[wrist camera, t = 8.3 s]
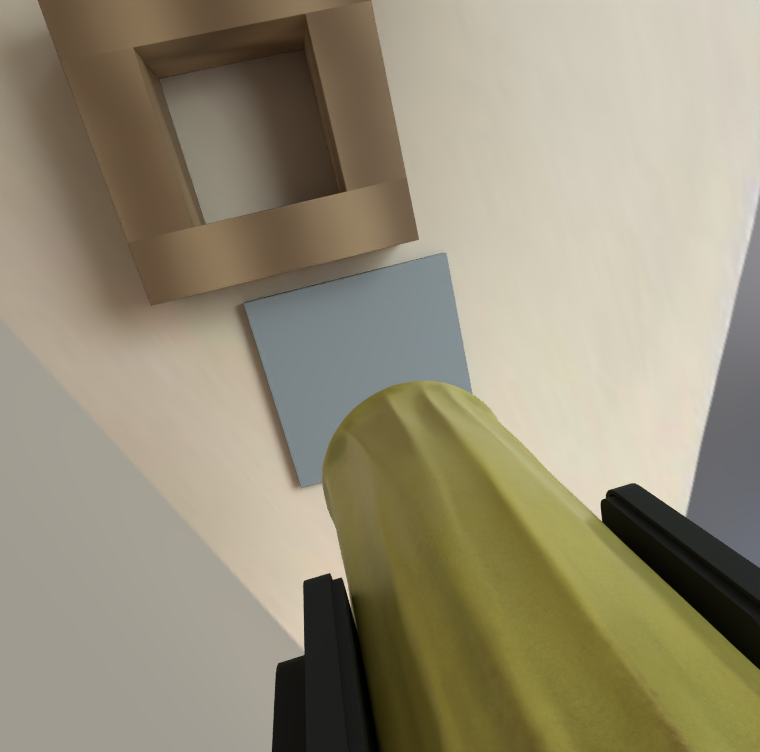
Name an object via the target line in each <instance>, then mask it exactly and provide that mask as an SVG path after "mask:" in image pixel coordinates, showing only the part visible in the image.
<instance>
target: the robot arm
mask: <svg viewBox="0 0 760 752" xmlns="http://www.w3.org/2000/svg"><path fill="white" fill-rule="evenodd" d="M601 514H602V522H603V523H604V524H605V525H606V526H607V527H608V528H609V529H610V530H611V531H612V532H613V533H614V534H615V535H616V536H617V537H618V538H619V539H620V540H621V541H622V542H623V543H624V544H625V545H626V546H627V547H628V548H629V549H631V550H632V551H633V552H634V553H635V554H636V555H637V556H638V557H639V558H640V559H641V560H642V561H644V562H645V563H646V564H647V565H648V566H649V567H650V568H651V569H652V570H653V571H654V572H655V573H656V574H657V575H659V576H660V577H661V578H662V579H663V580H664V581H665V582H666V583H667V584H668V585H669V586H670V587H671V588H672V589H673V590H675V591H676V592H677V593H678V594H679V595H680V596H681V597H682V598H683V599H684V600H685V601H686V602H687V603H688V604H690V605H691V606H692V607H693V608H694V609H695V610H696V611H697V612H698V613H699V614H700V615H701V616H702V617H703V618H704V619H705V620H707V621H708V622H709V623H710V624H711V625H712V626H713V627H714V628H715V629H716V630H717V631H718V632H719V633H720V634H721V635H722V636H724V637H725V638H726V639H727V640H728V641H729V642H730V643H731V644H732V645H733V646H734V647H735V648H736V649H737V650H738V651H740V652H741V653H742V654H743V655H744V656H745V657H746V658H747V659H748V660H749V661H750V662H751V663H752V664H754V665H755V666H756V667H757V668H758V669H759V670H760V568H759V567H757V566H756V565H754V564H753V563H751V562H750V561H749V560H747V559H746V558H744V557H743V556H741V555H740V554H738V553H737V552H735V551H734V550H732V549H731V548H729V547H728V546H727V545H725V544H724V543H722V542H721V541H719V540H718V539H716V538H715V537H713V536H712V535H711V534H709V533H708V532H706V531H705V530H703V529H702V528H700V527H699V526H698V525H696V524H695V523H693V522H692V521H690V520H689V519H687V518H686V517H684V516H683V515H681V514H680V513H679V512H677V511H676V510H674V509H673V508H671V507H670V506H668V505H667V504H665V503H664V502H663V501H661V500H660V499H658V498H657V497H655V496H654V495H652V494H651V493H649V492H648V491H646V490H645V489H644V488H642V487H641V486H639V485H637V484H635V483H632V484H628V485H625V486H621V487H618V488H615V489H611V490H609V491H608V492H607V494H606V499H603V500H602V501H601ZM303 594H304V647H305V655H303V656H300V657H297V658H294V659H291V660H288V661H284V662H281V663H278V665H277V669H276V681H275V700H274V701H275V702H274V720H273V740H272V752H379V750H378V745H377V741H376V736H375V730H374V724H373V719H372V713H371V707H370V701H369V695H368V689H367V683H366V677H365V671H364V665H363V660H362V654H361V648H360V642H359V637H358V632H357V628H356V624H355V621H354V617H353V614H352V610H351V607H350V603H349V600H348V596H347V593H346V589H345V586H344V583H343V579H342V578H338V579H335V580H333V579H332V576H331V574H330V573H329V574H325V575H322V576H319V577H315V578H312V579H308V580H305V581H304V583H303Z"/></svg>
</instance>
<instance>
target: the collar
mask: <svg viewBox="0 0 760 752" xmlns="http://www.w3.org/2000/svg"><path fill="white" fill-rule="evenodd" d="M38 2H39V5H40V8H41V10H42V13H43V16H44V18H45V21H46V24H47V27H48V29H49V32H50V35H51V37H52V40H53V43H54V45H55V48H56V51H57V53H58V56H59V59H60V62H61V64H62V67H63V70H64V72H65V75H66V78H67V80H68V83H69V86H70V89H71V91H72V94H73V97H74V99H75V102H76V105H77V107H78V110H79V113H80V115H81V118H82V121H83V124H84V126H85V129H86V132H87V134H88V137H89V140H90V142H91V145H92V148H93V151H94V153H95V156H96V159H97V161H98V164H99V167H100V169H101V172H102V175H103V177H104V180H105V183H106V186H107V188H108V191H109V194H110V196H111V199H112V202H113V204H114V207H115V210H116V213H117V215H118V218H119V221H120V223H121V226H122V229H123V231H124V234H125V237H126V240H127V242H128V245H129V248H130V250H131V253H132V256H133V258H134V261H135V264H136V266H137V269H138V272H139V275H140V277H141V280H142V283H143V285H144V288H145V291H146V293H147V296H148V299H149V302H150V304H151V306H152V305H156V304H160V303H164V302H168V301H172V300H176V299H180V298H184V297H188V296H192V295H196V294H201V293H205V292H209V291H213V290H217V289H221V288H225V287H229V286H233V285H237V284H241V283H245V282H249V281H253V280H257V279H261V278H265V277H269V276H274V275H278V274H282V273H286V272H290V271H294V270H298V269H302V268H306V267H310V266H314V265H318V264H322V263H326V262H330V261H334V260H338V259H342V258H347V257H351V256H355V255H359V254H363V253H367V252H371V251H375V250H379V249H383V248H387V247H391V246H395V245H399V244H403V243H407V242H411V241H415V240H419V238H418V233H417V228H416V223H415V218H414V213H413V208H412V203H411V198H410V193H409V188H408V183H407V178H406V173H405V168H404V163H403V158H402V153H401V148H400V143H399V138H398V133H397V128H396V123H395V118H394V113H393V108H392V103H391V98H390V93H389V88H388V83H387V78H386V73H385V68H384V63H383V58H382V53H381V48H380V43H379V38H378V33H377V28H376V23H375V18H374V13H373V8H372V3H371V0H38ZM300 49H304V50H305V54H306V58H307V63H308V67H309V71H310V75H311V79H312V83H313V88H314V92H315V96H316V100H317V104H318V108H319V113H320V117H321V121H322V125H323V129H324V133H325V138H326V142H327V146H328V150H329V154H330V158H331V163H332V167H333V171H334V175H335V179H336V183H337V188H338V192H339V193H338V194H334V195H330V196H325V197H321V198H317V199H312V200H308V201H304V202H300V203H295V204H291V205H287V206H283V207H278V208H274V209H270V210H265V211H261V212H257V213H253V214H248V215H244V216H240V217H235V218H231V219H227V220H223V221H218V222H214V223H210V224H205V221H204V218H203V215H202V212H201V209H200V205H199V202H198V199H197V196H196V193H195V190H194V187H193V184H192V181H191V178H190V174H189V171H188V168H187V165H186V162H185V159H184V156H183V153H182V150H181V146H180V143H179V140H178V137H177V134H176V131H175V128H174V125H173V122H172V118H171V115H170V112H169V109H168V106H167V103H166V100H165V97H164V94H163V91H162V87H161V84H160V81H159V78H163V77H167V76H172V75H177V74H182V73H187V72H192V71H197V70H202V69H207V68H212V67H216V66H221V65H226V64H231V63H236V62H241V61H246V60H251V59H256V58H260V57H265V56H270V55H275V54H280V53H285V52H290V51H295V50H300Z"/></svg>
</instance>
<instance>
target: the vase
mask: <svg viewBox="0 0 760 752" xmlns="http://www.w3.org/2000/svg"><path fill="white" fill-rule="evenodd" d="M322 483H323V490H324V496H325V500H326V504H327V508H328V511H329V513H330V516H331V518H332V520H333V522H334V524H335V527H336V530H337V536H338V541H339V545H340V550H341V555H342V559H343V564H344V568H345V573H346V577H347V582H348V588H349V595H350V602H351V609H352V614H353V617H354V621H355V624H356V628H357V632H358V637H359V642H360V648H361V654H362V660H363V665H364V671H365V677H366V683H367V689H368V695H369V701H370V707H371V713H372V719H373V724H374V730H375V736H376V741H377V745H378V750H379V752H760V670H759V669H758V668H757V667H756V666H755V665H754V664H752V663H751V662H750V661H749V660H748V659H747V658H746V657H745V656H744V655H743V654H742V653H741V652H740V651H738V650H737V649H736V648H735V647H734V646H733V645H732V644H731V643H730V642H729V641H728V640H727V639H726V638H725V637H724V636H722V635H721V634H720V633H719V632H718V631H717V630H716V629H715V628H714V627H713V626H712V625H711V624H710V623H709V622H708V621H707V620H705V619H704V618H703V617H702V616H701V615H700V614H699V613H698V612H697V611H696V610H695V609H694V608H693V607H692V606H691V605H690V604H688V603H687V602H686V601H685V600H684V599H683V598H682V597H681V596H680V595H679V594H678V593H677V592H676V591H675V590H673V589H672V588H671V587H670V586H669V585H668V584H667V583H666V582H665V581H664V580H663V579H662V578H661V577H660V576H659V575H657V574H656V573H655V572H654V571H653V570H652V569H651V568H650V567H649V566H648V565H647V564H646V563H645V562H644V561H642V560H641V559H640V558H639V557H638V556H637V555H636V554H635V553H634V552H633V551H632V550H631V549H629V548H628V547H627V546H626V545H625V544H624V543H623V542H622V541H621V540H620V539H619V538H618V537H617V536H616V535H615V534H614V533H613V532H612V531H611V530H610V529H609V528H608V527H607V526H606V525H605V524H604V523H603V522H602V521H601V520H599V519H598V518H597V517H596V516H595V515H594V514H593V513H592V512H591V511H590V510H589V509H588V508H587V507H586V506H585V505H584V504H583V503H582V502H581V501H580V500H579V499H577V498H576V497H575V496H574V495H573V494H572V493H571V492H570V491H569V490H568V489H567V488H566V487H565V486H564V485H563V484H561V483H560V482H559V481H558V480H557V479H556V478H555V477H554V476H553V475H552V474H551V473H550V472H549V471H548V470H547V469H546V468H545V467H544V466H543V465H542V464H541V463H540V462H539V461H538V460H537V458H536V457H535V456H534V455H533V454H532V453H531V452H530V451H529V450H528V449H527V448H526V447H525V446H524V445H523V444H522V443H521V442H520V441H519V440H518V439H517V438H516V437H515V436H514V435H512V434H511V433H510V432H509V431H508V430H507V429H506V428H505V427H504V426H503V425H501V424H500V423H499V421H498V420H497V418H496V416H495V415H494V413H493V412H492V410H491V409H490V408H489V407H488V406H487V405H486V404H485V403H484V402H482V401H481V400H480V399H478V398H477V397H476V396H474V395H472V394H471V393H469V392H467V391H465V390H463V389H461V388H459V387H456V386H454V385H451V384H447V383H443V382H437V381H413V382H406V383H400V384H397V385H394V386H390V387H388V388H385V389H383V390H381V391H379V392H377V393H375V394H373V395H372V396H370V397H369V398H367V399H365V400H364V401H363V402H361V403H360V404H359V405H358V406H356V407H355V408H354V409H353V410H352V411H351V412H350V413H349V414H348V415H347V416H346V417H345V418H344V420H343V421H342V422H341V424H340V425H339V427H338V428H337V430H336V431H335V433H334V435H333V436H332V438H331V441H330V443H329V445H328V448H327V451H326V454H325V458H324V461H323V465H322Z"/></svg>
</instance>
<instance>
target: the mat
mask: <svg viewBox="0 0 760 752" xmlns="http://www.w3.org/2000/svg"><path fill="white" fill-rule="evenodd" d="M244 307H245V310H246V313H247V316H248V319H249V323H250V326H251V329H252V332H253V335H254V338H255V342H256V345H257V348H258V351H259V354H260V358H261V361H262V364H263V367H264V370H265V374H266V377H267V380H268V383H269V386H270V389H271V393H272V396H273V399H274V402H275V405H276V409H277V412H278V415H279V418H280V421H281V424H282V428H283V431H284V434H285V437H286V440H287V444H288V447H289V450H290V453H291V456H292V459H293V463H294V466H295V469H296V472H297V475H298V479H299V482H300V485H301V488H304V487H308V486H311V485H315V484H318V483H321V482H322V465H323V461H324V458H325V454H326V451H327V448H328V445H329V443H330V441H331V438H332V436H333V435H334V433H335V431H336V430H337V428H338V427H339V425H340V424H341V422H342V421H343V420H344V418H345V417H346V416H347V415H348V414H349V413H350V412H351V411H352V410H353V409H354V408H355V407H356V406H358V405H359V404H360V403H361V402H363V401H364V400H365V399H367V398H369V397H370V396H372V395H373V394H375V393H377V392H379V391H381V390H383V389H385V388H388V387H390V386H394V385H397V384H400V383H406V382H413V381H437V382H443V383H447V384H451V385H454V386H456V387H459V388H461V389H463V390H465V391H467V392H469V393H471V394H472V389H471V384H470V379H469V373H468V368H467V362H466V357H465V352H464V346H463V341H462V336H461V330H460V325H459V319H458V314H457V309H456V303H455V298H454V292H453V287H452V282H451V276H450V271H449V265H448V260H447V255H446V253H440V254H436V255H432V256H428V257H424V258H420V259H416V260H412V261H408V262H404V263H400V264H396V265H392V266H388V267H384V268H380V269H376V270H372V271H368V272H364V273H360V274H356V275H352V276H348V277H344V278H340V279H336V280H332V281H328V282H324V283H320V284H316V285H312V286H308V287H304V288H300V289H296V290H292V291H288V292H284V293H280V294H276V295H272V296H268V297H264V298H260V299H256V300H252V301H248V302H245V303H244Z"/></svg>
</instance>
